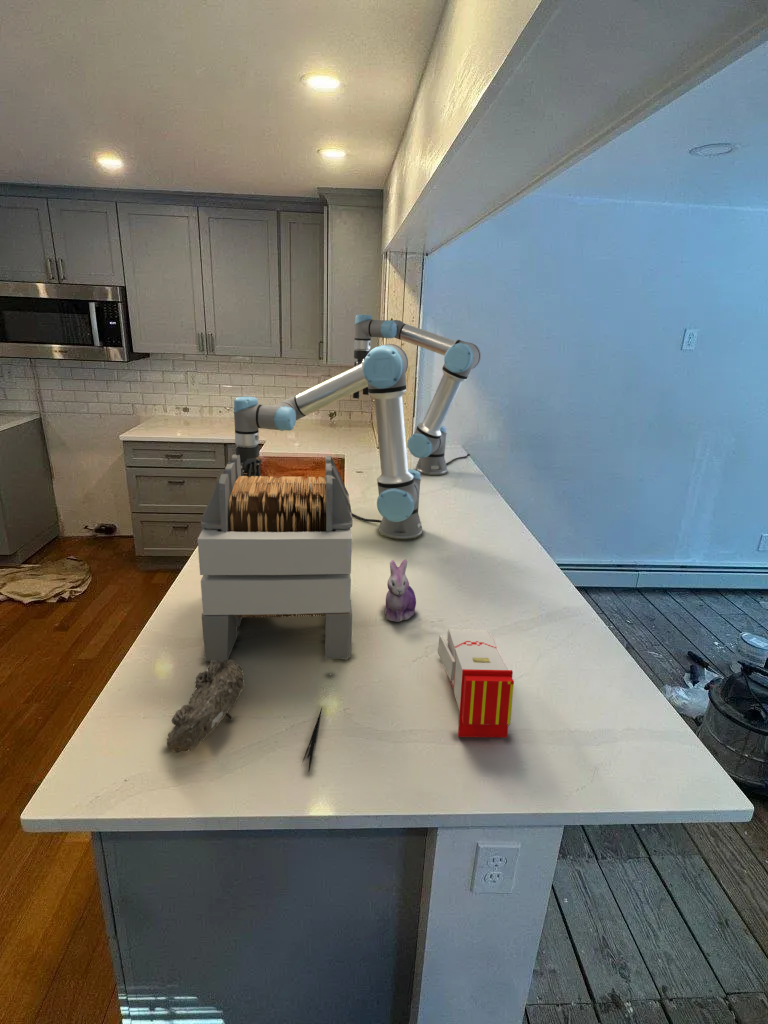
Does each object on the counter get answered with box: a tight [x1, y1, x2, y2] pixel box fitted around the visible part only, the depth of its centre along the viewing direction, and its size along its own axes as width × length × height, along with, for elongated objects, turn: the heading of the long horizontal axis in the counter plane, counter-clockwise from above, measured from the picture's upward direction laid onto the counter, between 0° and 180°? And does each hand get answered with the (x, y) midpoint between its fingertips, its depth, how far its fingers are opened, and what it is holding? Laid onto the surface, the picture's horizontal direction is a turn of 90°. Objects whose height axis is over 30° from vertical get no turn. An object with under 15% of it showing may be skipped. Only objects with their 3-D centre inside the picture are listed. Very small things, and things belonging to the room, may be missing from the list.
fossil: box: [166, 658, 245, 754], centre depth 106 cm, size 22×10×15 cm
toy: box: [437, 628, 515, 738], centre depth 117 cm, size 12×13×30 cm
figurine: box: [384, 558, 417, 623], centre depth 145 cm, size 9×10×15 cm
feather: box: [301, 673, 332, 771], centre depth 108 cm, size 2×28×2 cm
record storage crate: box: [197, 454, 354, 663], centre depth 134 cm, size 34×33×41 cm
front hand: (249, 511), depth 194 cm, fingers closed on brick, 5 cm apart
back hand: (360, 396), depth 268 cm, fingers open, 13 cm apart
